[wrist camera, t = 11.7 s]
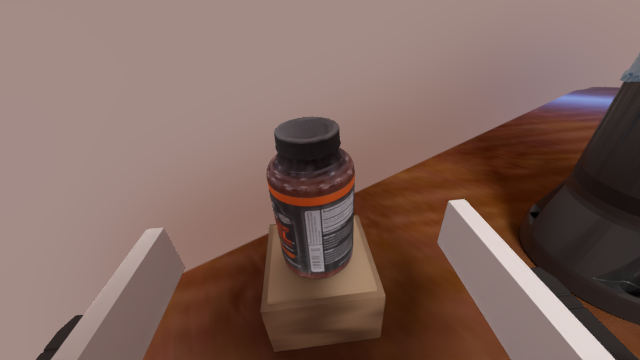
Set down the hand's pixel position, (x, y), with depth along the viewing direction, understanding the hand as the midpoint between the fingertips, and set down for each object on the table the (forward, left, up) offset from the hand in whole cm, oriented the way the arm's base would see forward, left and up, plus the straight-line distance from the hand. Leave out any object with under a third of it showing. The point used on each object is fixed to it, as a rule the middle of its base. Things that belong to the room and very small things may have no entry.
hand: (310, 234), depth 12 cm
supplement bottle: (0, -6, -8) cm, 10 cm away
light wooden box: (0, -6, -14) cm, 16 cm away
